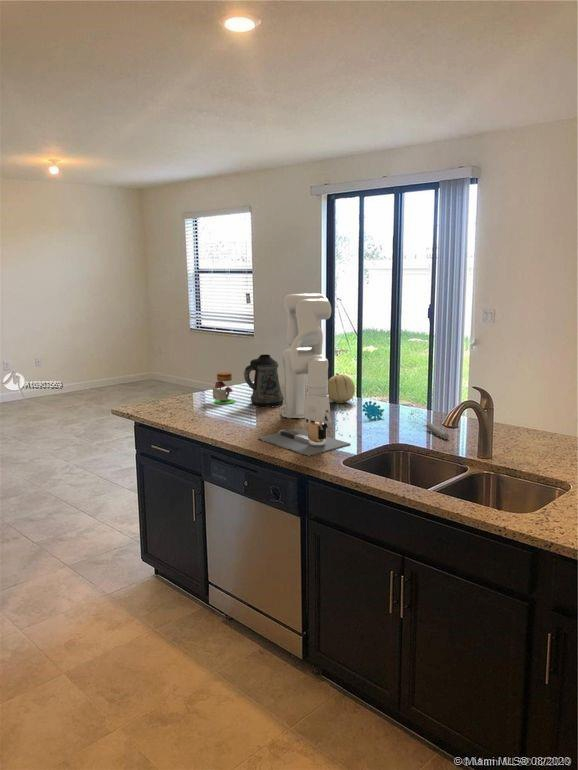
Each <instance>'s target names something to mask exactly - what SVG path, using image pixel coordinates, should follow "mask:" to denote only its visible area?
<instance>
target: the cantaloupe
mask: <svg viewBox="0 0 578 770" xmlns="http://www.w3.org/2000/svg"><path fill="white" fill-rule="evenodd" d="M355 393H356V387H355V382H354V381H353V379H352V378H351V377H349V376H348V375H346V374H339V373H335V375H333V376H331V377H330V378H328V397H329V400H330V401H332V402H334V403H337V404H341V403H342V404H345V403H347V402H349V401H350V400H352V399H353V398H354V396H355Z"/></svg>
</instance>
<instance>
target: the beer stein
mask: <svg viewBox="0 0 578 770" xmlns="http://www.w3.org/2000/svg"><path fill="white" fill-rule="evenodd" d="M278 368H279V363H278V361H276V360H275V359H273V358H272V357H271V355H270V354H260V355H259V356H258V357H257V358H255V359H251V360H250V362H249V365H247V366H246V367H245V368H244V372H243V376H244V381H245V382H246V383H245V384H247V386H249V388H251V390H252V395H251V396H250V402H251V405H252V406H253V405H254V406H253V407H255V406H258V407H257V408H261V407H272V406H279V405H282V406H283V403H284V400H285V396H284V395H283V392H282V390H281V389H282V388H281V385H280V379H279V373H278ZM252 371H255V372H254V377H253V381H252V379H251V378H250V373H251V372H252ZM279 407H280V406H279ZM272 408H273V407H272Z"/></svg>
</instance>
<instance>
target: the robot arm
mask: <svg viewBox="0 0 578 770" xmlns="http://www.w3.org/2000/svg"><path fill="white" fill-rule="evenodd" d="M283 299H284V301H283V305H284V309H285V311H286V315H287V333H286V341H287V344H288V345H289V346H290V348H286V349H285V350H284V351H283V353H282V362H283V368H284V404H282V406H280V409H283V412H281V417H283V418H285V417H287V418H286V419H291V418H299V419H305V421H306V423H307V424H308V423H312V422H319V425H320V430H319V440H322V439H326V436H327V435H326V429H328V427H330V425H331V424H333V421H332V419H331V407H330V406H331V405H330V398H329V397H328V381H329V360H328V358H327V357H326V356H325V355H324V354H322V353H323V342H324V339H323V338H324V335H323V330H322V328H321V327H320V323H319V320H329V319H330V317H331V315H332V306H331V305H332V304H331V303H330V301H329V299H328V298H327V297H326V296H325V295H324V294H322V293H290V294H286V296H285V297H284V298H283ZM305 375H307V379H306V377H305ZM306 380H307V383H306ZM306 384H307V387H306ZM306 390H307V391H306ZM322 423H324V425H323V424H322Z"/></svg>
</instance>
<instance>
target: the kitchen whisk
mask: <svg viewBox="0 0 578 770" xmlns="http://www.w3.org/2000/svg"><path fill="white" fill-rule="evenodd" d="M416 410H417V411H416ZM410 411H411V412H410V413H409V415H408V416H407V419H408V420H410V421H412V422H413V423H414V420H411V418H409V417H412V418H413V419H415V420H416V419H417V420H418V421H420V422H421V423H419V422H416V424H417V425H419V426H420V427H422V428H424V427H425V428H427V429H428V430H429V431H431V432H432V433H434V434H435V435H437V436H438V437H439V436H440V437H439V438H440V439H442V438H443V439H442V440H445V439H447V440H449V439H450V436H449V434H448V433H447V432H446V431H444V430H443V429H441V428H439V427H438V426H436V425H435V424H434V423H432V422H430V420H429V418H428V417H427V416H426V415H424V413H423V412H421V410H420V409H415V410H413V409H410ZM415 413H416V414H419V413H420V414H422V415H424V417H425V419H426V420H425V419H424V417H423V416H421V415H420V414H419V416H418V418H419V419H418V418H417V417H415ZM420 419H421V420H422V421H421V420H420ZM412 422H411V423H412ZM422 423H423V425H422ZM425 423H426V424H425Z"/></svg>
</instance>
